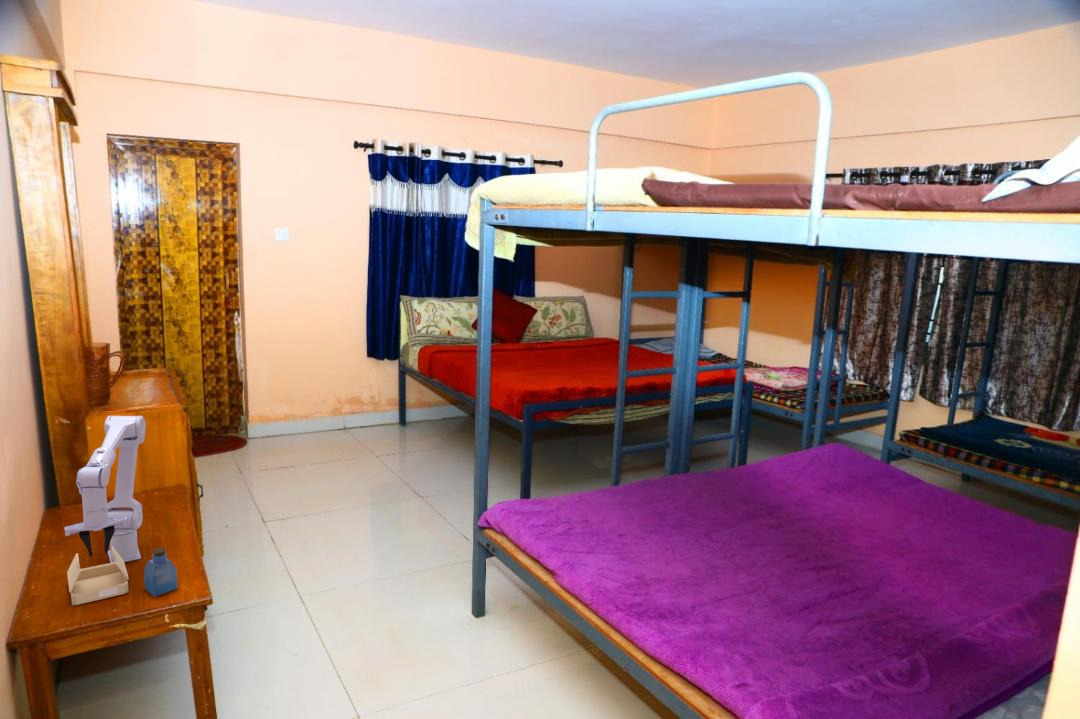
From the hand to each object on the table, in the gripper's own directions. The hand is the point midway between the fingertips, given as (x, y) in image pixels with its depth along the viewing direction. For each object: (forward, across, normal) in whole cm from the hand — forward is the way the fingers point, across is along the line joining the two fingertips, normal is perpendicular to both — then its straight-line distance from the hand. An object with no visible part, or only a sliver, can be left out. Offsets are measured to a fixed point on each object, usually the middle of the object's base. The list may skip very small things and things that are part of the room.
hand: (98, 553), depth 195 cm
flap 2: (+7, +6, 0) cm, 10 cm away
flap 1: (+7, -7, 0) cm, 10 cm away
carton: (+10, 0, 0) cm, 10 cm away
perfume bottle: (+11, +14, -9) cm, 20 cm away
